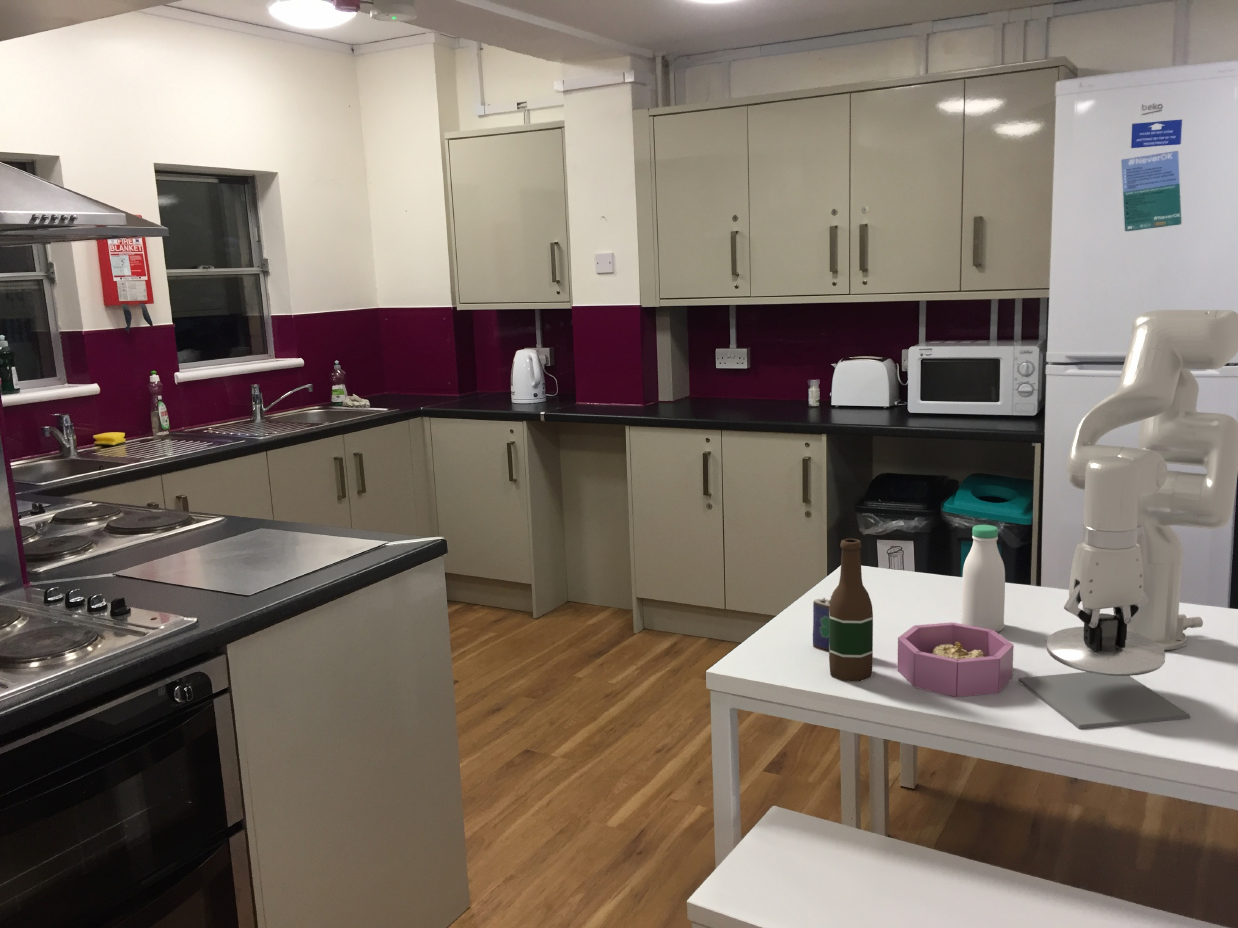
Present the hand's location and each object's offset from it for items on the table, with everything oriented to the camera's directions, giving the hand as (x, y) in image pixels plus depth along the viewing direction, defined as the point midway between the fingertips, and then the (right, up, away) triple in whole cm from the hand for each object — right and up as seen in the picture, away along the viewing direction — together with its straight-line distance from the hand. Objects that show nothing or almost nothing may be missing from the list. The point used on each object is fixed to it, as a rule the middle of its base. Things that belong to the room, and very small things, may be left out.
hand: (1104, 645), depth 161 cm
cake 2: (-18, -7, +15) cm, 25 cm away
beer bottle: (-37, -8, +15) cm, 41 cm away
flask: (-38, -6, +25) cm, 46 cm away
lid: (0, -1, 0) cm, 1 cm away
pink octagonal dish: (-20, -7, +13) cm, 25 cm away
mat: (0, -9, +1) cm, 9 cm away
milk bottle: (-7, -3, +34) cm, 35 cm away
